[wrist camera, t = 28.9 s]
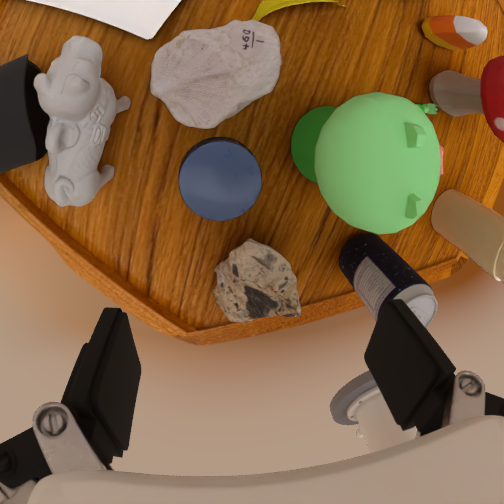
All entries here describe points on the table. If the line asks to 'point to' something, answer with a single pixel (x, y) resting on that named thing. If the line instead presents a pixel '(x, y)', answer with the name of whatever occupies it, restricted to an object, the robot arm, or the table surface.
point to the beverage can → (385, 277)
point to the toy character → (371, 159)
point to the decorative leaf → (280, 6)
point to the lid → (220, 180)
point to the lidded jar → (471, 230)
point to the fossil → (216, 71)
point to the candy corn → (454, 31)
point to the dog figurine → (77, 122)
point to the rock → (256, 284)
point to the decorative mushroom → (473, 94)
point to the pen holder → (20, 115)
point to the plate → (122, 13)
